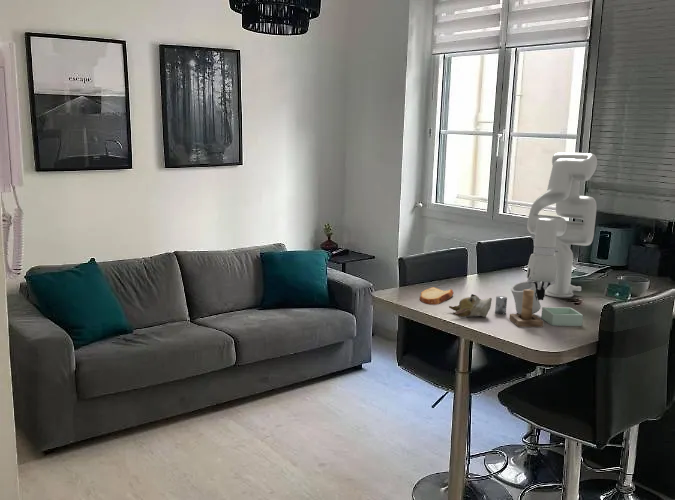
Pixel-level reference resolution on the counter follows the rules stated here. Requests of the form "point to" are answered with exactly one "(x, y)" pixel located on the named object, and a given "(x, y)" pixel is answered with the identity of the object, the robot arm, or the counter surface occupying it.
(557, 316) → the tray
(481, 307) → the ceramic sculpture
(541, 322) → the socket block
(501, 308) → the bench dog
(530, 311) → the dowel
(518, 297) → the mug
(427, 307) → the counter surface
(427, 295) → the slice of bread
